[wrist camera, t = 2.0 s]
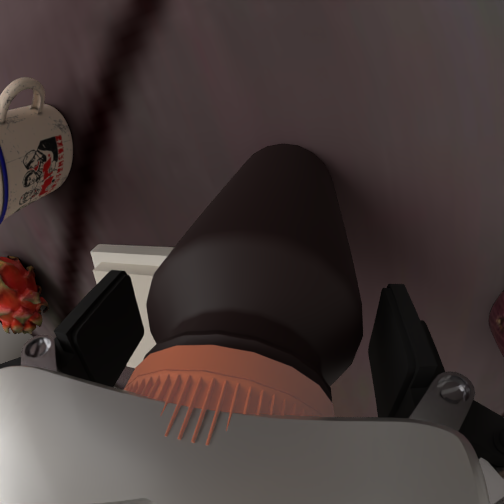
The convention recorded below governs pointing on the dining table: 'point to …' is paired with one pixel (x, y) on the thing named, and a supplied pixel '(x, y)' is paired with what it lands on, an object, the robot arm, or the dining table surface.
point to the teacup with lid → (31, 148)
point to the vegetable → (498, 322)
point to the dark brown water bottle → (256, 298)
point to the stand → (141, 272)
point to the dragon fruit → (19, 297)
